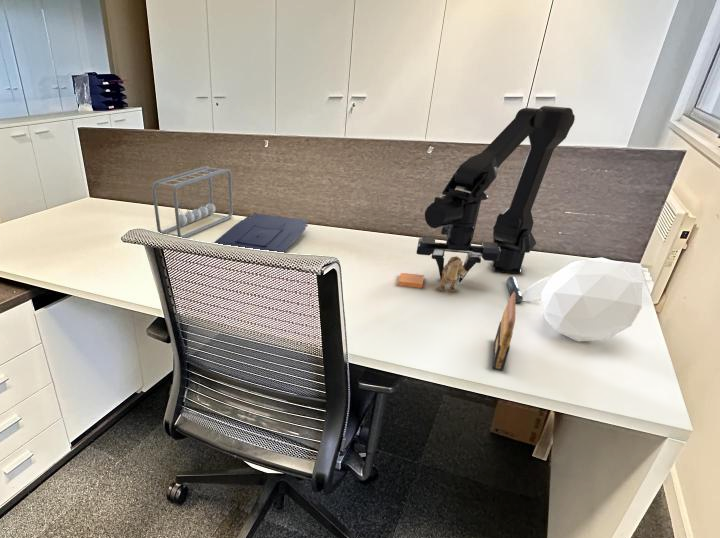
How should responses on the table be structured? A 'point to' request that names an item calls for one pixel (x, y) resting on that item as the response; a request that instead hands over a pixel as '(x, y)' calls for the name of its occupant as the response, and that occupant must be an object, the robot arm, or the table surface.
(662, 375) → the table surface
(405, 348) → the table surface
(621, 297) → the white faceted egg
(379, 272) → the table surface
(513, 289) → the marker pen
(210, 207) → the newton's cradle
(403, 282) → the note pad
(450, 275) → the lion figurine
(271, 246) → the navy blue flat slab
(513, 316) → the ammunition clip
